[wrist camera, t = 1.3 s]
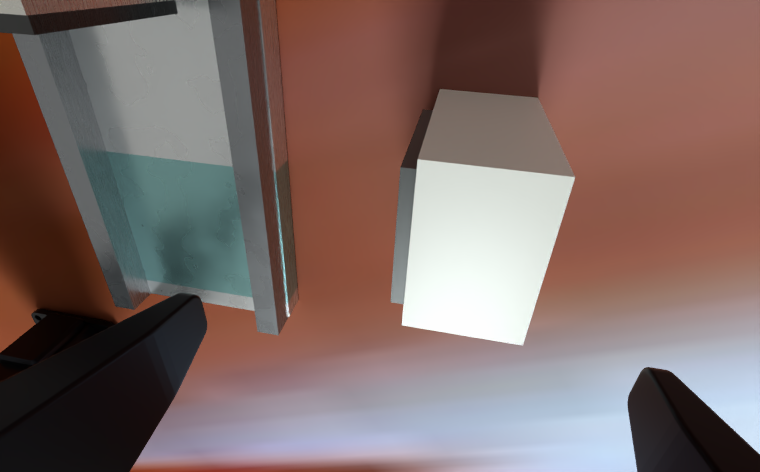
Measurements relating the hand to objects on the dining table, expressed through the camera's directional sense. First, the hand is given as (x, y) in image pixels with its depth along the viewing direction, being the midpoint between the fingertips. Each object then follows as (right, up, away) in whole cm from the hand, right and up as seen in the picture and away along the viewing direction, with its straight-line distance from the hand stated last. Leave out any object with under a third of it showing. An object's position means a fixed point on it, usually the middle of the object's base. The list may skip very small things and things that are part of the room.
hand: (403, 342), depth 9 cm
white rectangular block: (+4, +6, +11) cm, 13 cm away
